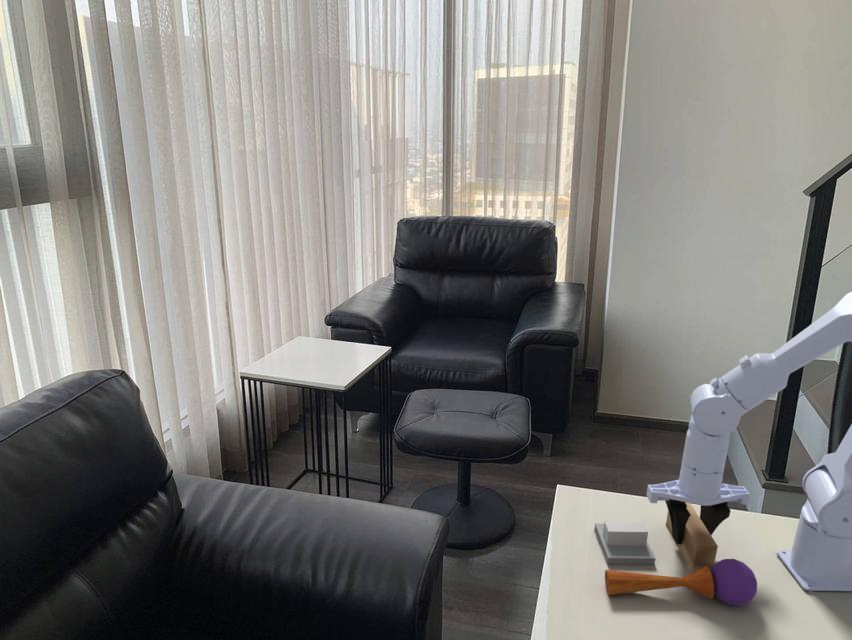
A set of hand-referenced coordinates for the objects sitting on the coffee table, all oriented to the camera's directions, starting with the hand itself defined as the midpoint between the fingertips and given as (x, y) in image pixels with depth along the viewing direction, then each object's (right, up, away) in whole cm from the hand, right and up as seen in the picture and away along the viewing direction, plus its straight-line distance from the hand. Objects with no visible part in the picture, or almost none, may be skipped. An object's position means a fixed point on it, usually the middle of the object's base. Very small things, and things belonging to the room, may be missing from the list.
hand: (689, 540), depth 98 cm
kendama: (-5, -5, -9) cm, 11 cm away
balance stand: (-10, -1, 0) cm, 10 cm away
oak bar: (0, -1, +1) cm, 2 cm away
